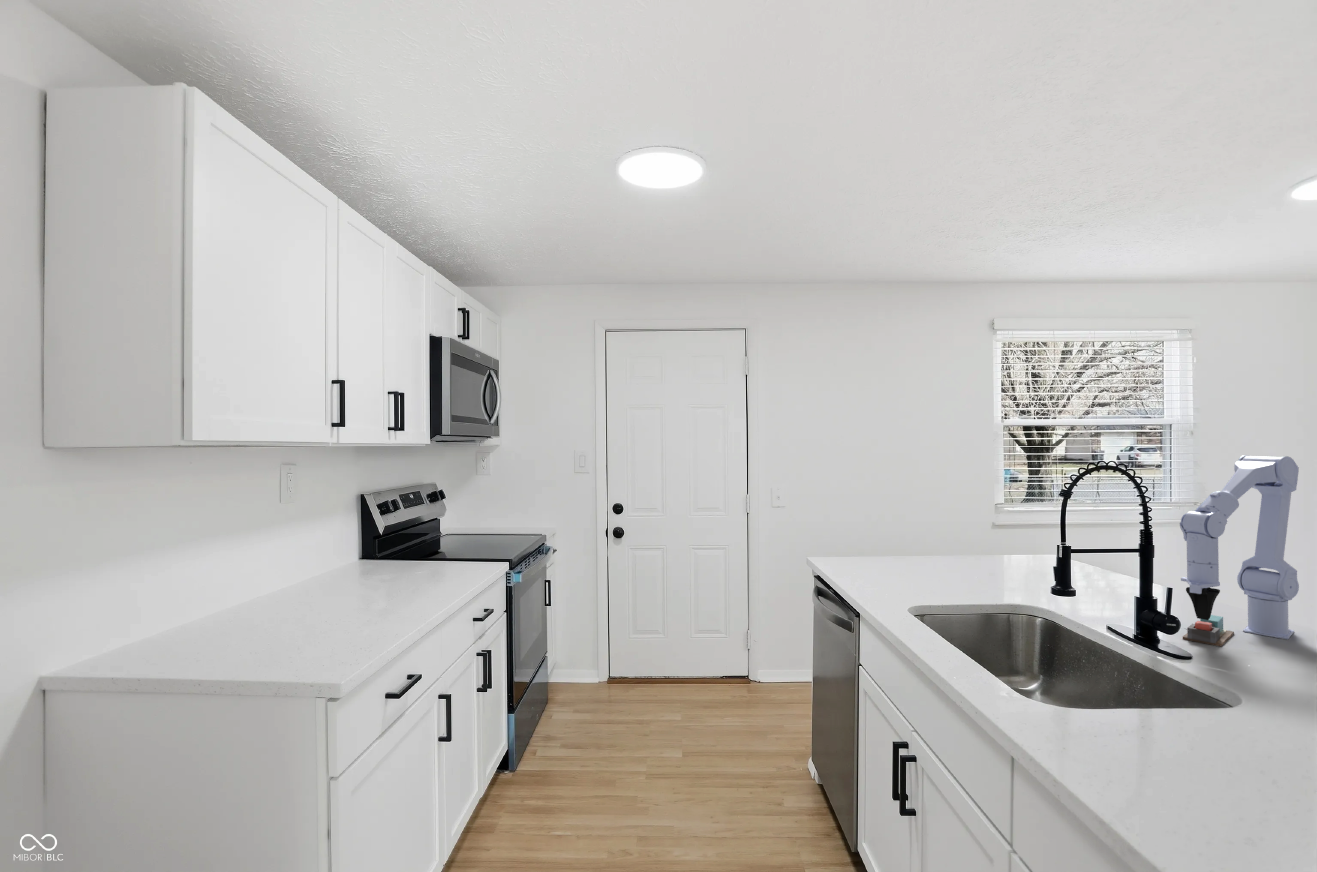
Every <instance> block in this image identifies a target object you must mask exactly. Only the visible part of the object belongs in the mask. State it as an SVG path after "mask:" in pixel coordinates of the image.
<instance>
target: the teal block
mask: <svg viewBox="0 0 1317 872" xmlns="http://www.w3.org/2000/svg"><path fill="white" fill-rule="evenodd" d="M1199 621H1202V622H1208V623H1212V627H1215V628H1220V632H1221V631H1222V630H1224V616H1220V615H1214V614H1211V616H1210V619H1209V620H1204V619H1199Z"/></svg>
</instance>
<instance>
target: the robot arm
mask: <svg viewBox="0 0 1317 872" xmlns="http://www.w3.org/2000/svg"><path fill="white" fill-rule="evenodd" d="M1233 467H1234V470H1233V471H1234V474H1233V475H1232V476H1231V477H1230V479H1229V480H1228V482H1227V483H1226V484H1225V485H1224V486H1223V488H1222V489H1221V490H1216V491H1212V492H1211V493H1210V494H1209V495H1208V496H1207V497H1206V498H1205V499H1204V500H1203V501H1202V503H1201V504H1200V505H1198V507H1196V509H1195V510H1189V511H1188V512H1186V513H1184V514H1183V515H1182V517H1181V518H1180V522H1179V527H1180V530H1181V532H1182V534H1183V539H1184V542H1186V577H1185V576H1181V577H1180V581H1181V582H1186V583H1187V585H1188V586H1187V587H1186V588H1185V592H1186V593H1187V595H1188V597H1189V598H1190V600H1191V602H1192V606H1193V609H1194V613H1195V616H1196V618H1197V619H1199V620H1200V619H1204V620H1209V619H1210V616H1211V615H1212V611H1213V608H1214V603H1215V601H1216V599H1217V597H1218V596H1219V594H1220V593H1221V589H1219V588H1215V587H1220V586H1221V583H1220V578H1219V577H1220V574H1219V573H1220V572H1219V570H1220V569H1219V568H1220V567H1219V538H1220V537H1221V536H1222V535H1223V534H1224V533H1225V530H1226V525H1227V524H1228V519H1229V518H1230V516H1232V515H1233V513H1234V512H1236V510H1237V509H1238V508H1239V507H1240V503H1239V499H1240V498H1241V497H1243V496H1244V495H1245V494H1246V493H1248V491H1249V490H1250V489H1255V490H1256V491H1258V492H1259V493H1260V494H1261V497H1260V498H1261V499H1260V508H1259V515H1258V524H1257V525H1258V526H1257V532H1256V542H1255V550H1254V555H1253V556H1252V557H1250V558H1248V559H1245V560H1243V561H1242V562H1241V564H1242V565H1241V568H1240V570H1239V572H1238V573H1237V577H1236V580H1237V584H1238V586H1239V589H1241V590H1242V591H1243V594H1244V595H1247V626H1246V627H1245V628H1243V631H1242V632H1244V633H1247V634H1248V633H1249V634H1254V635H1259V636H1265V637H1270V638H1277V639H1284V640H1289V639H1290V638H1291V637H1292V635H1293V634H1294V633H1295V630H1294V629H1290V628H1289V601H1292V600H1293V599H1294V598H1295V597H1296V596H1297V595H1298V593H1299V589H1300V586H1299V585H1300V584H1299V581H1298V570H1297V569H1296V568H1294V567H1293V565H1291V564H1290V563H1288V562H1287V561H1286V560H1284V558H1285V550H1286V543H1287V534H1288V525H1289V523H1288V522H1289V515H1290V507H1291V500H1292V492H1295V491H1297V485H1298V481H1299V470H1300V469H1299V468H1300V467H1299V466H1298V465H1297V463H1296V461H1295V460H1294V458H1292V457H1291V456H1287V455H1286V456H1285V455H1283V456H1272V455H1271V456H1268V455H1267V456H1266V455H1265V456H1263V455H1262V456H1261V455H1247V454H1245V455H1244V454H1243V455H1241V456H1240V457H1239V458H1238V459H1237V461H1236V462H1235V463H1234V466H1233ZM1265 569H1268V570H1265ZM1270 570H1271V571H1270ZM1272 570H1273V571H1272Z"/></svg>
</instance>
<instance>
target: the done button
mask: <svg viewBox="0 0 1317 872" xmlns="http://www.w3.org/2000/svg"><path fill="white" fill-rule="evenodd" d="M1194 624H1195V628H1196V629H1202V630H1207V631H1212V623H1208V622H1202V621H1200V620H1197V621H1195V622H1194Z"/></svg>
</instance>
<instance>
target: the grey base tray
mask: <svg viewBox="0 0 1317 872" xmlns="http://www.w3.org/2000/svg"><path fill="white" fill-rule="evenodd" d="M1186 630H1187V631H1186V633H1185V634H1184V635H1183V636H1182V640H1185V641H1191V642H1196V643H1201V644H1206V645H1212V646H1216V647H1223V645H1225V643H1227V642H1228V641H1229V640H1230V639H1231V638H1232V637H1233V636H1234V635H1235V632H1234V631H1232V630H1227V629H1223V630H1222V631H1221V632H1220V628H1215V627H1212V631H1207V630H1202V629H1196V628H1195V623H1191V624H1190V625H1189V626H1188V627H1187V629H1186Z"/></svg>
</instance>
